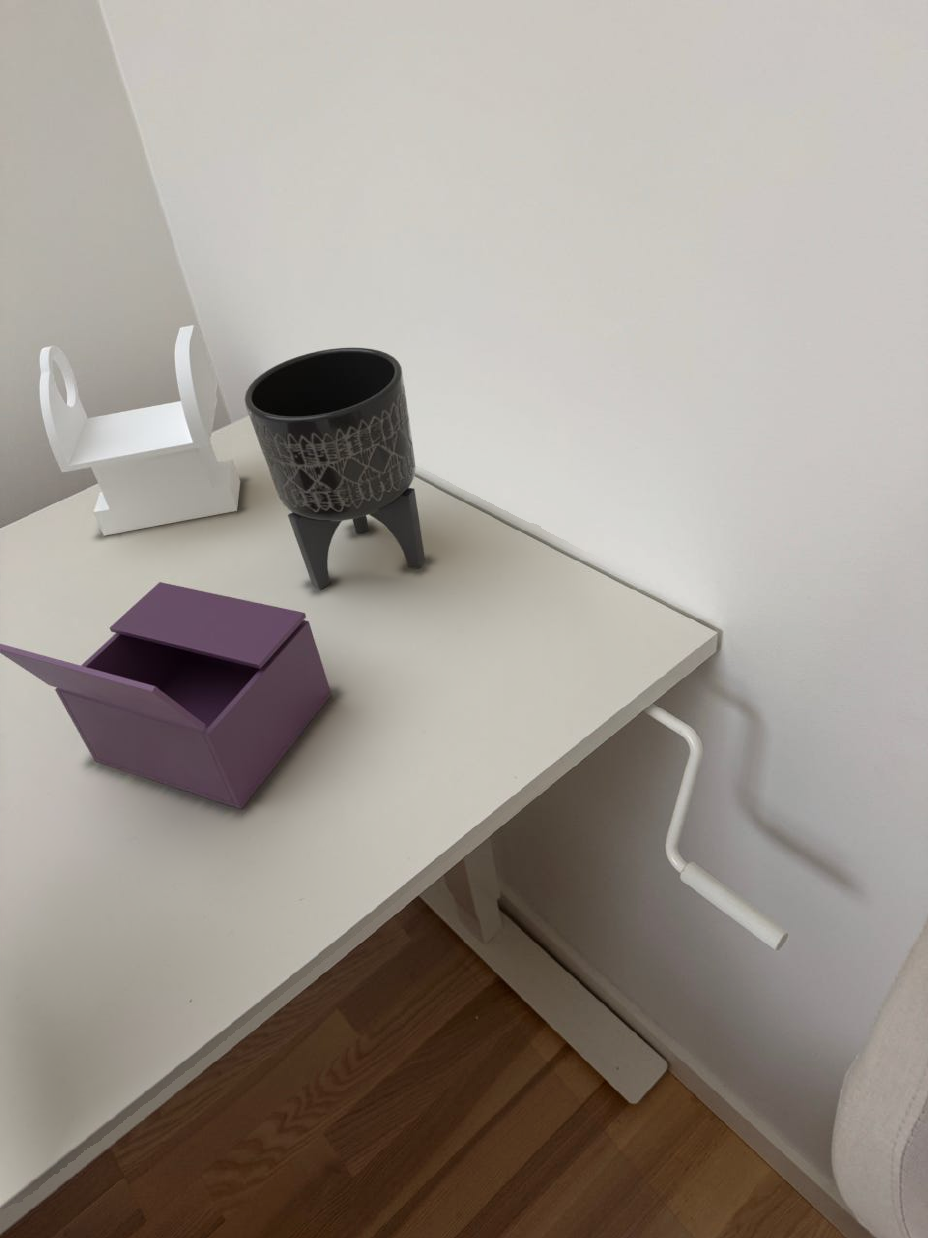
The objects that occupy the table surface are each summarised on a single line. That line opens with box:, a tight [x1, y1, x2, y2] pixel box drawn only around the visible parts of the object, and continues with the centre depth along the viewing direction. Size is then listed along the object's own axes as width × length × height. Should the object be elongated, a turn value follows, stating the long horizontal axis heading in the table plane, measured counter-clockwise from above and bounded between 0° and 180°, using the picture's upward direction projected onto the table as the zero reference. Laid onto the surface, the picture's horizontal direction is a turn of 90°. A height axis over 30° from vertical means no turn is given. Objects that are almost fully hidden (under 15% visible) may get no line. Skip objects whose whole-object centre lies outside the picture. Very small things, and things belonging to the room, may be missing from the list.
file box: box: [54, 581, 332, 810], centre depth 71 cm, size 12×14×8 cm
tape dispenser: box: [39, 324, 241, 537], centre depth 96 cm, size 14×13×18 cm
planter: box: [244, 346, 426, 590], centre depth 83 cm, size 13×13×18 cm
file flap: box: [0, 643, 205, 730], centre depth 62 cm, size 6×14×1 cm
